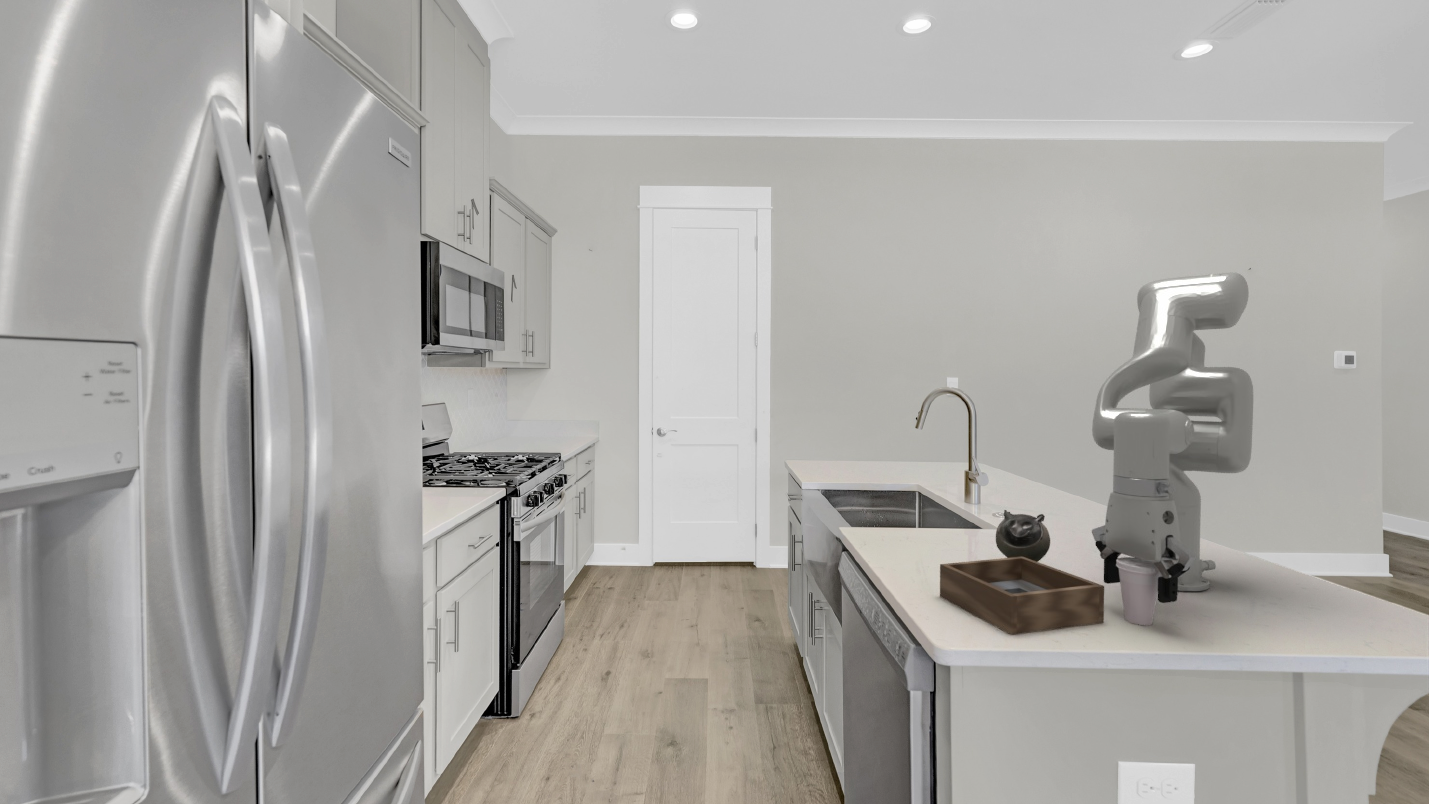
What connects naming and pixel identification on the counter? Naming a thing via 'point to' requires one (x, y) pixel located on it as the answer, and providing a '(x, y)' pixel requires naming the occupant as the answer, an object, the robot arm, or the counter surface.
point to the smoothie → (1138, 589)
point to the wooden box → (1022, 594)
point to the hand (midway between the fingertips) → (1138, 591)
